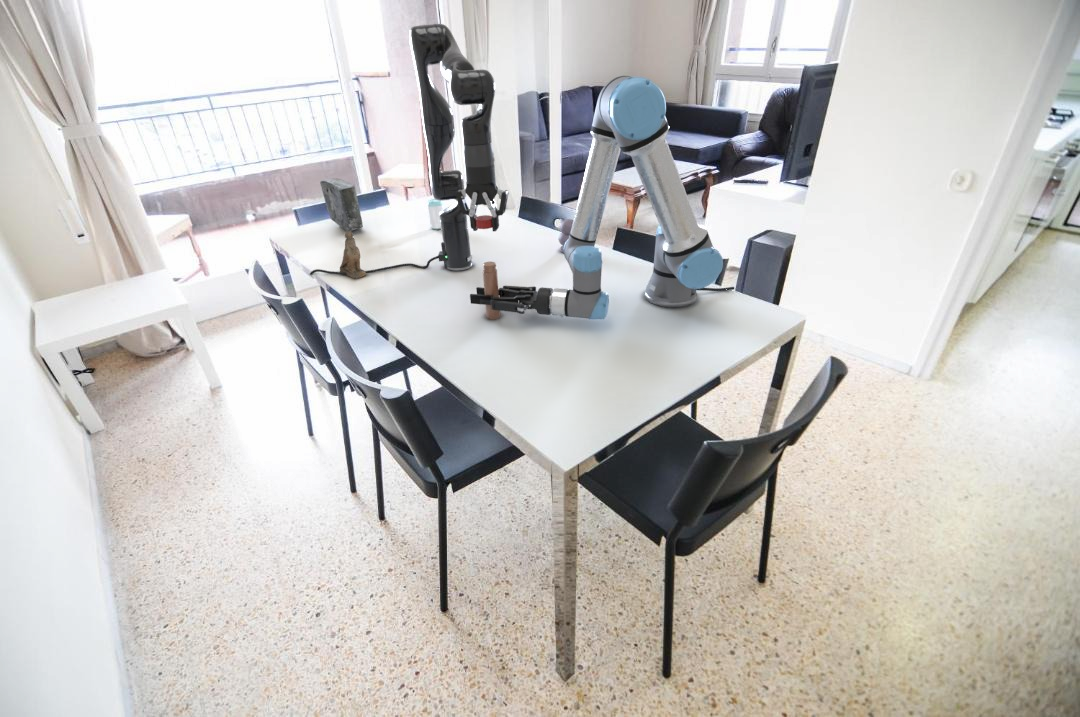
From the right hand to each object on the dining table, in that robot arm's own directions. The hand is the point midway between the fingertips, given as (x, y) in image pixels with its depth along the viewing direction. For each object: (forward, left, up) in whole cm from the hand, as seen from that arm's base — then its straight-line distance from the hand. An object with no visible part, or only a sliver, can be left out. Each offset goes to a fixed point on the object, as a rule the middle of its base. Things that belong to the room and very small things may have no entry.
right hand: (474, 295), depth 144 cm
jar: (-5, +2, -6) cm, 8 cm away
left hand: (-5, +2, +19) cm, 20 cm away
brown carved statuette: (+42, -44, -6) cm, 61 cm away
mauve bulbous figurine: (-39, -47, -6) cm, 61 cm away
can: (+11, -92, -6) cm, 93 cm away
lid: (-5, +2, +22) cm, 23 cm away
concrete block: (+52, -103, -6) cm, 116 cm away
